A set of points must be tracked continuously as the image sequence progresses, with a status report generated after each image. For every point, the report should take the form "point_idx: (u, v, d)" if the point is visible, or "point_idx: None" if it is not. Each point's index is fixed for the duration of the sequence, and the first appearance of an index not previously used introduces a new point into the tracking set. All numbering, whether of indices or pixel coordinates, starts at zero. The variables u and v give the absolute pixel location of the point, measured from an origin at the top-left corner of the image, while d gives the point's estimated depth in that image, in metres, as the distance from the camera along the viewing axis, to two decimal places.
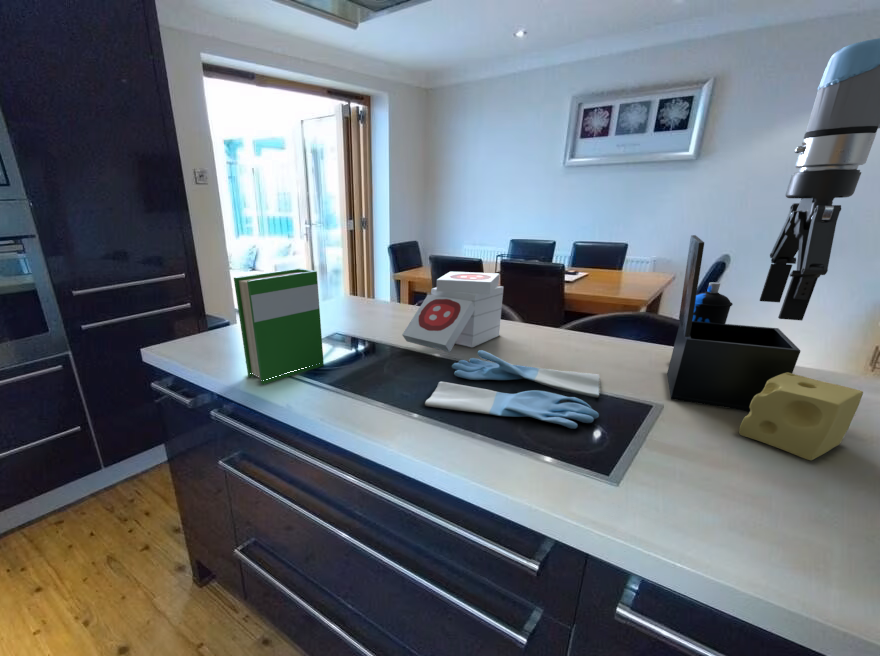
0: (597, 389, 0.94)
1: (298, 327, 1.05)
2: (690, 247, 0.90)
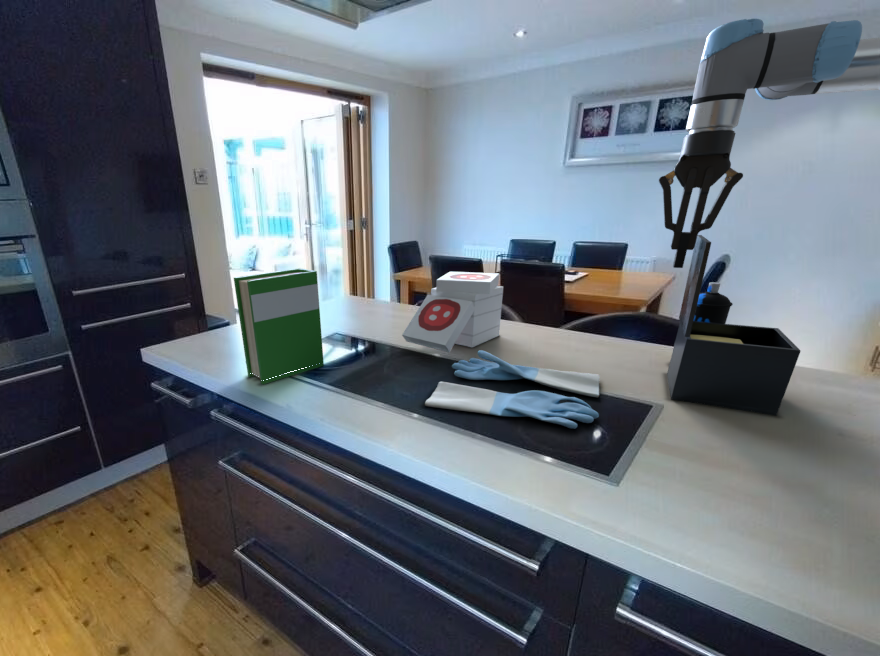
0: (597, 389, 0.94)
1: (298, 327, 1.05)
2: (695, 247, 0.89)
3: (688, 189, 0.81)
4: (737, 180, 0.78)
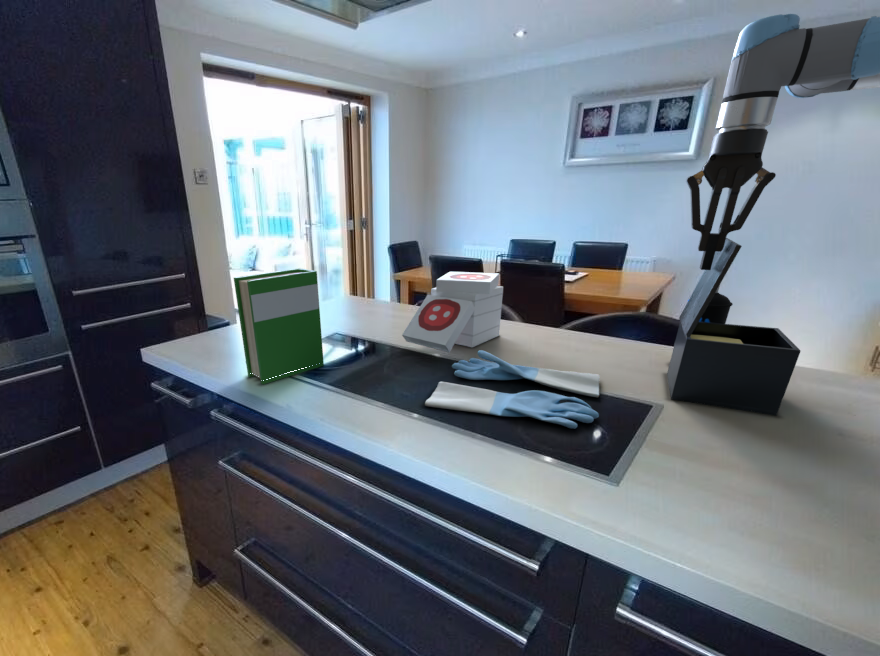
0: (597, 389, 0.94)
1: (298, 327, 1.05)
2: None
3: (718, 189, 0.79)
4: (769, 180, 0.76)
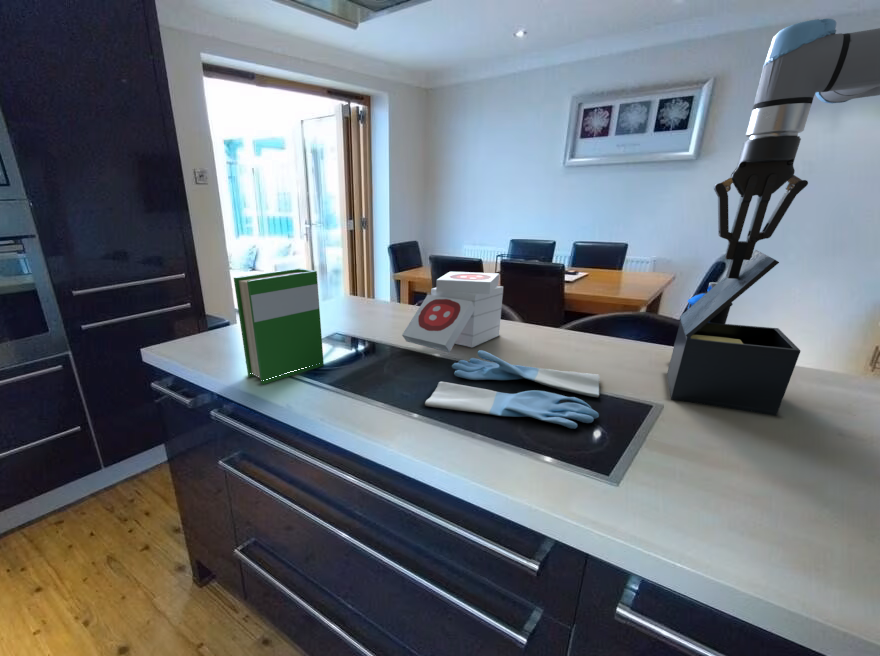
0: (597, 389, 0.94)
1: (298, 327, 1.05)
2: (748, 260, 0.86)
3: (747, 197, 0.78)
4: (801, 188, 0.74)
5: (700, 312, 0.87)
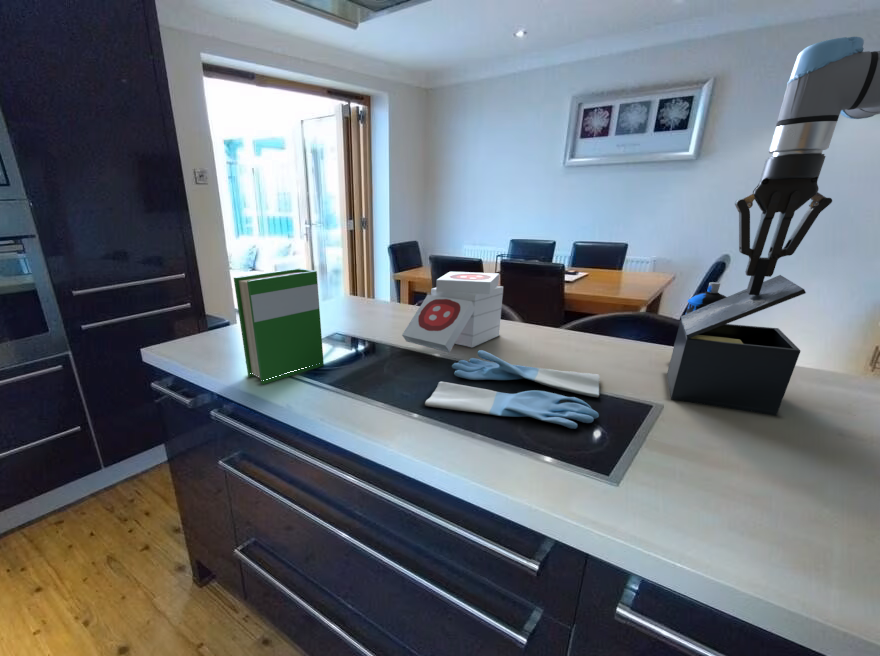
0: (597, 389, 0.94)
1: (298, 327, 1.05)
2: (769, 282, 0.85)
3: (770, 214, 0.77)
4: (825, 205, 0.74)
5: (706, 317, 0.87)
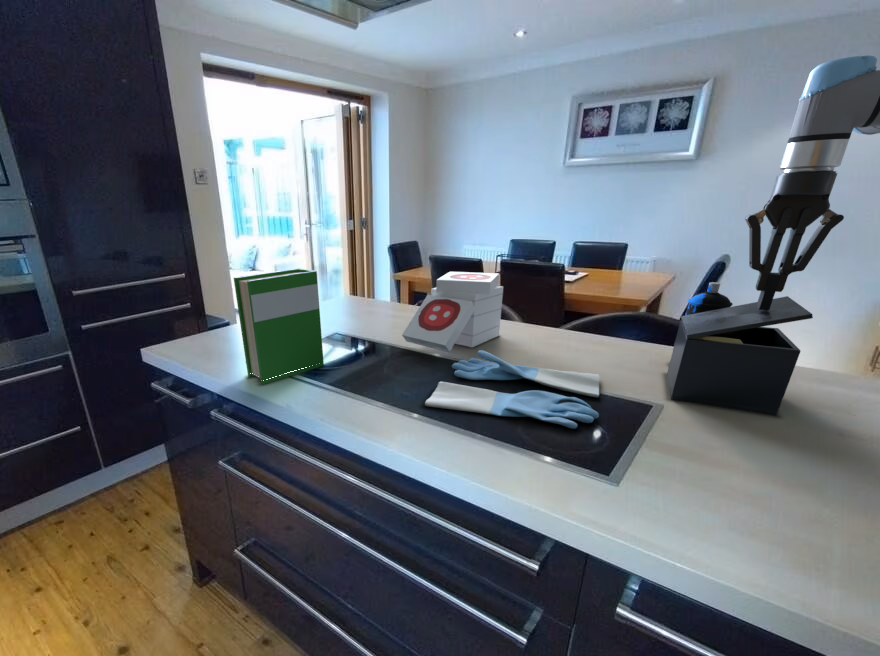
0: (597, 389, 0.94)
1: (298, 327, 1.05)
2: (776, 301, 0.86)
3: (781, 230, 0.77)
4: (837, 222, 0.74)
5: (708, 322, 0.87)
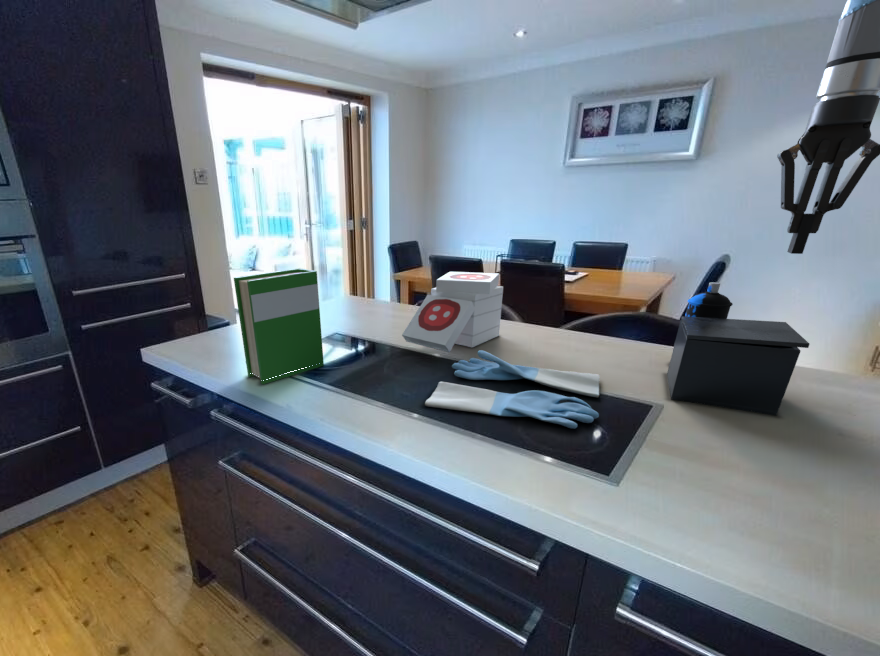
0: (597, 389, 0.94)
1: (298, 327, 1.05)
2: (775, 324, 0.87)
3: (817, 164, 0.72)
4: (878, 153, 0.69)
5: (709, 328, 0.87)
